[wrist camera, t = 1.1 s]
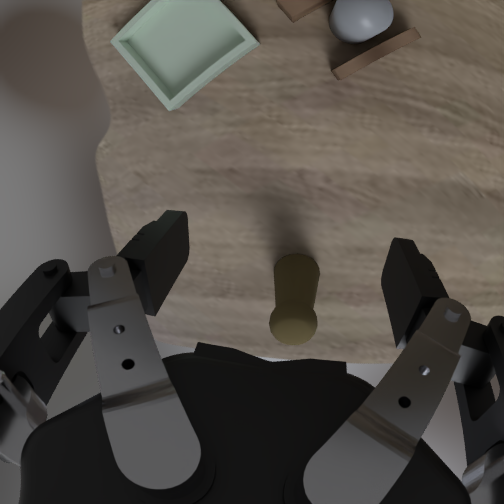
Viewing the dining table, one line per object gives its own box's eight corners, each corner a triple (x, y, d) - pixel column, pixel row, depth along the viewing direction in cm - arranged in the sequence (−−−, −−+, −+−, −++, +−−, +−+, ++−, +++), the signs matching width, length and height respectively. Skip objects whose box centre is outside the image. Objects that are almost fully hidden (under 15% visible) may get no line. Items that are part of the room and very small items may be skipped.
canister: (354, -2, 22) (369, -23, 15) (381, 32, 24) (404, 20, 17) (319, 17, 24) (325, -2, 17) (346, 51, 25) (360, 43, 19)
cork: (267, 259, 40) (255, 319, 31) (313, 249, 38) (313, 308, 29) (281, 295, 43) (274, 356, 34) (324, 286, 41) (326, 348, 32)
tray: (195, -24, 23) (187, -30, 20) (260, 44, 26) (257, 41, 24) (121, 42, 27) (110, 41, 25) (177, 108, 31) (169, 111, 29)
